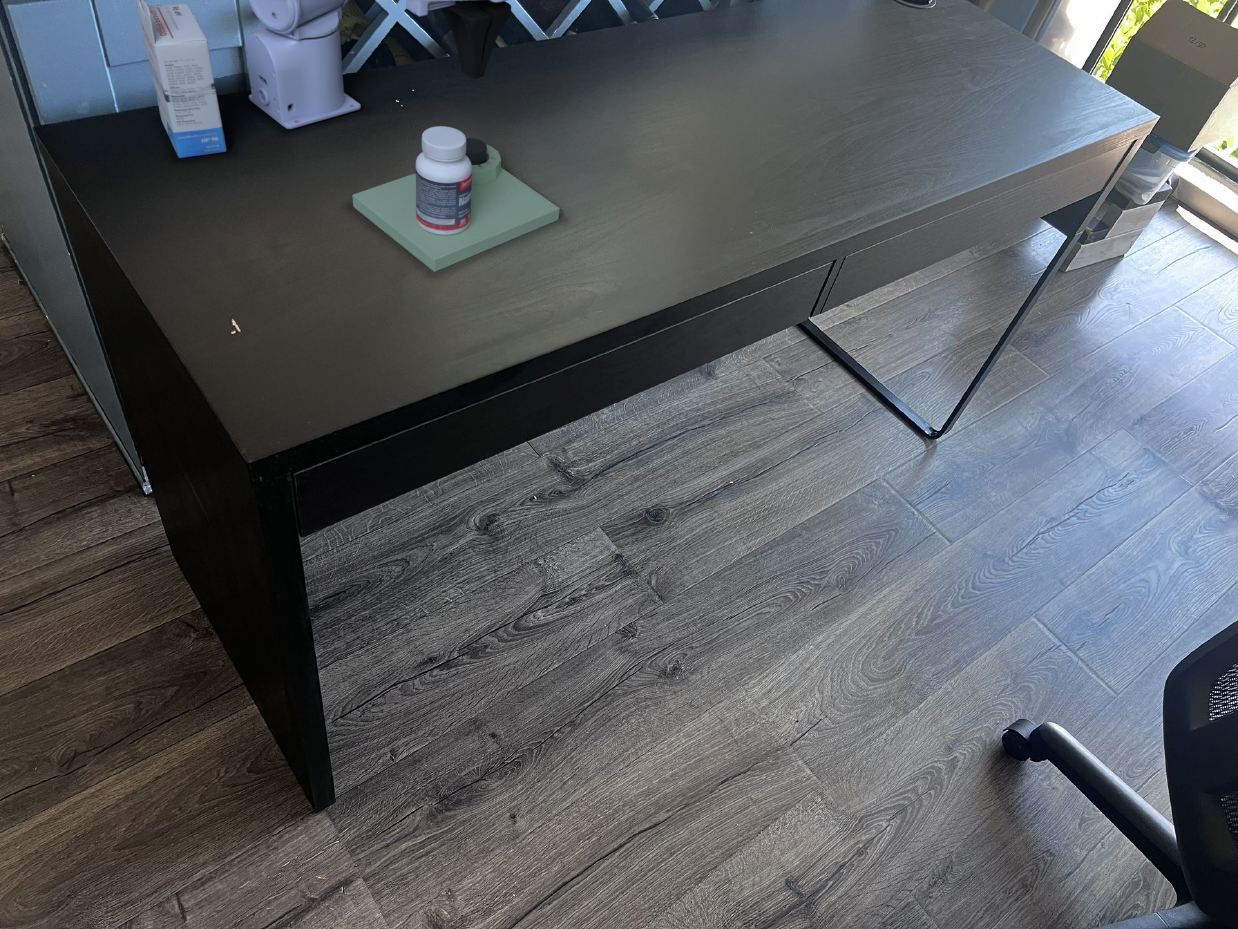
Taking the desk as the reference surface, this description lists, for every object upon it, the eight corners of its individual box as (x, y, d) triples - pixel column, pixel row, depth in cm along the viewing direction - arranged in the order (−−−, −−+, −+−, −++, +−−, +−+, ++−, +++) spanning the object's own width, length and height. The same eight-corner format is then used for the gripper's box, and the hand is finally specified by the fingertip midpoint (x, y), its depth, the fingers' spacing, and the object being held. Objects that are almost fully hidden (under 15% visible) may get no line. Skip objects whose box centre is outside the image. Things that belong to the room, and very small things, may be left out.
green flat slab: (434, 272, 88) (434, 245, 86) (350, 204, 94) (348, 177, 92) (558, 220, 97) (561, 194, 95) (475, 161, 103) (476, 135, 101)
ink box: (229, 153, 97) (204, 6, 86) (178, 159, 95) (145, 10, 84) (209, 113, 102) (182, -31, 91) (159, 118, 99) (126, -28, 89)
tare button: (469, 169, 97) (470, 155, 95) (451, 156, 98) (451, 142, 97) (492, 161, 98) (492, 147, 97) (473, 148, 99) (474, 134, 98)
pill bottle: (466, 240, 90) (469, 155, 84) (411, 232, 90) (410, 147, 83) (473, 210, 94) (476, 126, 87) (420, 202, 93) (419, 118, 87)
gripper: (440, -46, 79) (439, 108, 89) (566, -69, 87) (552, 74, 97) (389, -76, 82) (394, 76, 92) (516, -95, 90) (508, 46, 100)
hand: (472, 73), depth 94 cm, fingers closed
